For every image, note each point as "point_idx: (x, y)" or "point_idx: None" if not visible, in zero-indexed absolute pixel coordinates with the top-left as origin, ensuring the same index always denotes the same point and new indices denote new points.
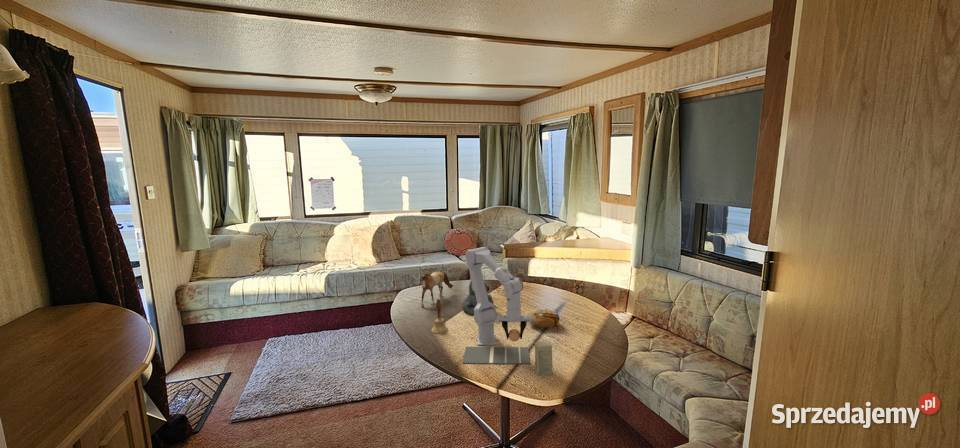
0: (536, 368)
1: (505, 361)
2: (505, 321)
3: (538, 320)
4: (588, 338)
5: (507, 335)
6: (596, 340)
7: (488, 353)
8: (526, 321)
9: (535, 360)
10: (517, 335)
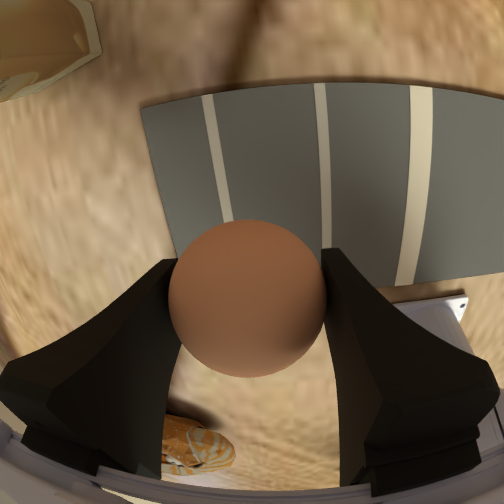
0: (75, 11)
1: (322, 104)
2: (412, 486)
3: (179, 441)
4: (24, 348)
5: (341, 269)
6: (5, 335)
7: (434, 210)
8: (33, 445)
9: (58, 42)
10: (186, 265)
